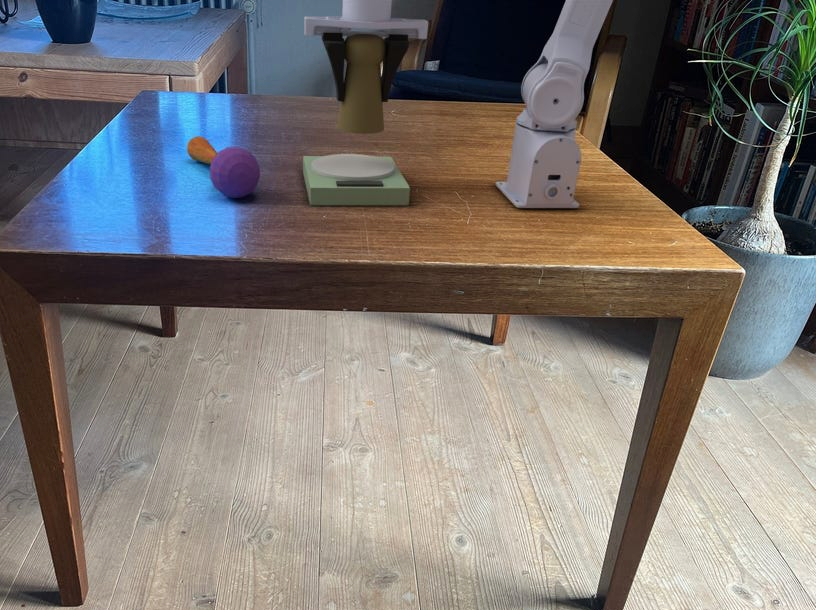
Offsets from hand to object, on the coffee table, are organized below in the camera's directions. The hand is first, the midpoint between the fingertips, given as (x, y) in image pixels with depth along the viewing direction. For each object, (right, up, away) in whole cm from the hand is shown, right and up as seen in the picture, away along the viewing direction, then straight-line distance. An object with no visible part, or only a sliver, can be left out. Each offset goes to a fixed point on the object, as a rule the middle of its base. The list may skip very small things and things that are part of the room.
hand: (362, 100), depth 91 cm
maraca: (-18, -9, +4) cm, 21 cm away
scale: (-1, -10, +3) cm, 11 cm away
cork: (0, -3, +2) cm, 4 cm away
